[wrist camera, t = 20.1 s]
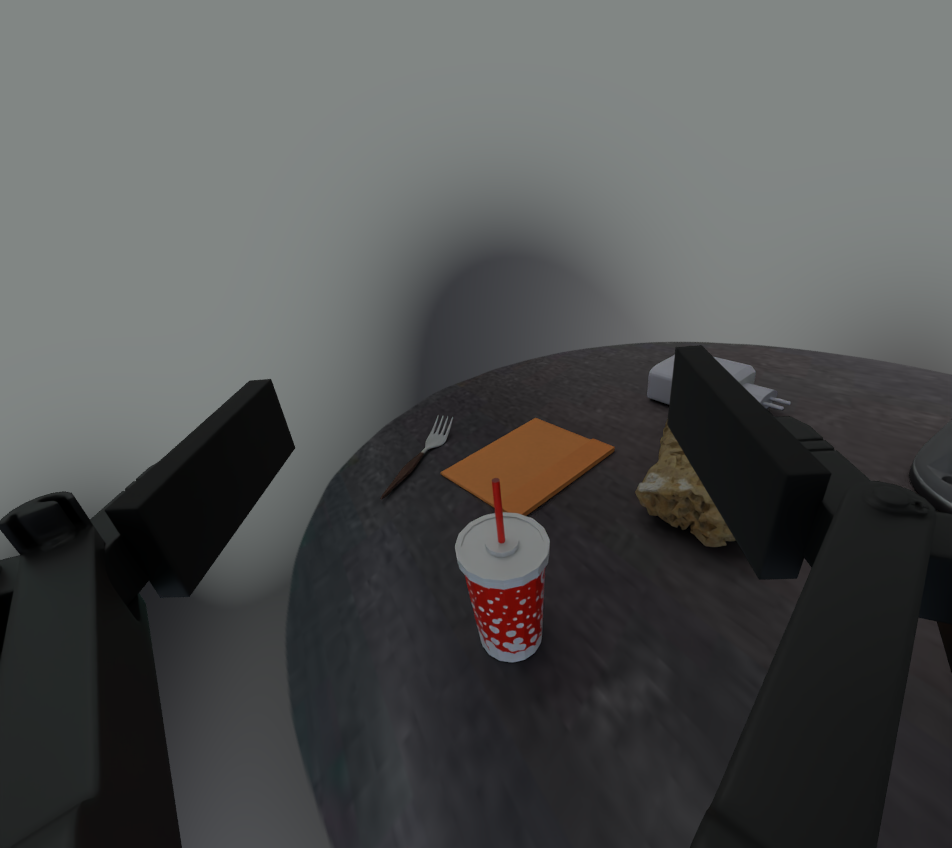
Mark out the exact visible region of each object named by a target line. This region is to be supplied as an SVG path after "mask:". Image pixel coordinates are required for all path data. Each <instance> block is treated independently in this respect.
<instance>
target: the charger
mask: <svg viewBox="0 0 952 848" xmlns="http://www.w3.org/2000/svg"><path fill="white" fill-rule="evenodd" d="M674 358H675V355H674V356H672V357H670V358H668V359H666V360H664V361H663V362H661V363H659V364H657V365H655V366H654V367H653V368H652V369H651V371H650V372H649V380H648V391H647V397H648V398H650V399H654V400H657V401H660V402H663V403H666V404H669V403H670V394H671V385H672V376H673V367H674ZM714 358H715V359H716V360H717V361H718V362H719V363H720V364H721V365H722V366H723V367H724V368H725V369H726V370H727V371H728V372H729V373H730V374H731V375H732V376H733V377H734V378H735V379H736V380H737V381H738V382H739V383H740V384H741V385H742V386H743V387H744V388H745V389H746V390H747V391H748V392H749V393H750V394H751V395H753V396H754V397H755V398H756V399H757V400H758V401H759V402H760V403H761V404H762V405H763V406H764V407H765V408H766V409H767V408H769V407H771V408H775V409H778V410H784V407H782V406H778V405H775V404H772V402H773V401H775V402H778V403H782V404H786V405H790V404H791V402H789V401H786V400H782V399H778V398H776V396H777V394H778V391H776V390H772V389H768V388H764V387H761V386H757V385H754V380H755V376H756V371H755V370H754V369H753V367H752V366H750V365H746V364H742V363H738V362H733V361H729V360H725V359H721V358H716V357H714Z"/></svg>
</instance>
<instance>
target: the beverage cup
mask: <svg viewBox="0 0 952 848" xmlns="http://www.w3.org/2000/svg"><path fill="white" fill-rule="evenodd" d="M492 489H493V498H494V508H495V513H494V514H489V515H484V516H482V517H480V518H478V519H476V520H474V521H472V522H470V523H469V524H468V525H467V526H466V527H465V528H464V529H463V530H462V531H461V532H460V533H459V536H458V539H457V541H456V544H455V550H456V555H457V561H458V564H459V569H460V570H461V571H462V572H463V573H464V574H465V578H466V582H467V586H468V590H469V594H470V598H471V602H472V606H473V610H474V614H475V618H476V622H477V626H478V631H479V635H480V639H481V643H482V646H483V647H484V649H485V650H486V651H487V653H488V654H489V655H491V656H492V657H494V658H496V659H497V660H499V661H505V662H512V663H513V662H517V661H521V660H525V659H527V658H528V657H530V656H531V655H532V654H534V653H535V652H536V650H537V649H538V647H539V645H540V644H541V639H542V627H543V604H544V581H545V567H546V565H547V564H548V559H549V550H550V549H549V547H550V540H549V538H548V536H547V533H546V531H545V529H544V528H543V527H542V526H541V525H540V524H539V523H537V522H536V521H535V520H534V519H532V518H529V517H527V516H524V515H521V514H518V513H507V512H503V511H502V500H501V490H500V480H499V479H498V478H493V479H492Z"/></svg>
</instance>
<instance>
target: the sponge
mask: <svg viewBox="0 0 952 848" xmlns="http://www.w3.org/2000/svg"><path fill="white" fill-rule="evenodd" d="M667 421H668V419H667ZM660 443H661V448H660V450H659V461H658V463H656V464H655V465H654V466H652V467H651V468H650V469H649V471H648V473H647V474H646V476H645V478H644V480H643V482H642V483H640V484H639V486H638V488H637V489H636V491H635V493H636V495H637V497H638V499H639V501H640V503H641V505H642V506H643V507H646V508H647V511H648V513H649V515H653V516H657V515H658V516H659V517H660V518H661V519H662V520H664V521H665V522H667V523H669V524H671V526H673V527H676V528H677V527H678V525H679V526H680V527H681V529H682V530H685V529H687V528H688V527H689V526H690V528H691V531H690V532H691V533H692V534H694V535H695V536H696V538H697V539H699V540H700V541H701V542H702V544H703V545H704V546H707V547H720V546H726V545H727V544H726V542H725V541H736V540H735V538H734V536H733V535H732V533H731V531H730V530H729V528H728V526H727V525H726V523H725V521H724V519H723V518H722V516H721V514H720V513H719V511H718V509H717V508H716V506H715V504H714V503H713V501H712V499H711V498H710V496H709V494H708V493H707V491H706V489H705V487H704V486H703V484H702V482H701V481H700V479H699V477H698V476H697V474H696V472H695V471H694V469H693V467H692V466H691V464H690V462H689V461H688V459H687V457H686V456H685V454H684V452H683V450H682V449H681V447H680V445H679V444H678V442H677V440H676V439H675V437H674V435H673V434H672V432H671V430H670V429H669V427H668V425H667V422H666V427H665V428H664V430H663V437H662V438H661V440H660Z"/></svg>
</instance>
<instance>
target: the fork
mask: <svg viewBox="0 0 952 848" xmlns="http://www.w3.org/2000/svg"><path fill="white" fill-rule="evenodd" d="M438 417H439V415H438V416H437V419H436V422H435V424H434V426H433V429H432V431H431V433H430V435H429V437H428V438H427V440H426V444H425V445H426V447H425V449H424V450H423V451H421V452H420V453H419V454H418V455H417V456H416V457H414V458H413V459H412V460H411V461H410V462H408V463H407V464H406V465H405V466H404V467H403V468H402V470H401V471H400V472H399V474H398V475H397V476H396V478H395V479H394V480H393V482H392V483H391V484H390V486H389V487H388V488H387V489H386V491H385V492H384V494H383V495H382V497H381V498H380V499H383V498H385V497H386V496H387V495H388V494H389V493H390V492H391V491H392V490H393V489H394V488H395V487H396V486H397V485H398V484H399V483H401V482H402V481H403V480H404V479H405V478H406V477H407V476H408V475H409V474H410V473H411V472H412V471H413V470H414V469H415V467H416V466H417V464H418V463H419V461H420V460H421V458H422V457H423V455H424V454H425V452H426V451H427V450H429V449H431V448H435V447H438V446H441V445H443V444H444V443H445V441H446V439H447V437H448V434H449V430H450V427H451V424H452V420H453V417H452V419H451V422H450V425H449V427H448V429H447V432H446V434H445V435H443V433H444V430H445V427H446V423H447V420H448V416H447V419H446V422H445V424H444V427H443V429H442V431H441V433H440V435H438V433H439V430H440V427H441V423H442V420H443V416H442V419H441V422H440V424H439V426H438V429H437V431H436V433H435V434H434V430H435V427H436V423H437V420H438Z"/></svg>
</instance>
